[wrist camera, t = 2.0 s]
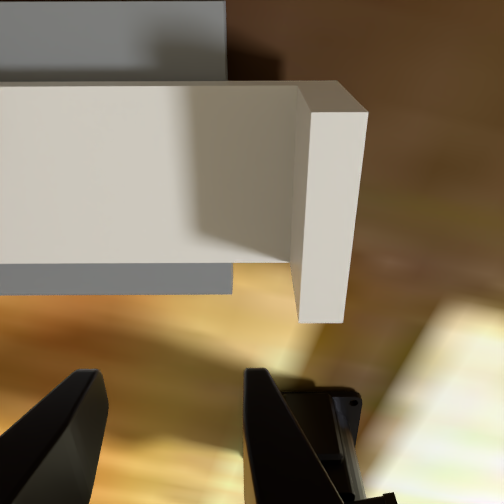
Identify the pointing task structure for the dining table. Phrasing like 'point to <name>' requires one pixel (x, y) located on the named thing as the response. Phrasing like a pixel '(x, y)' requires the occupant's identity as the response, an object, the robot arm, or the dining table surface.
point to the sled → (185, 177)
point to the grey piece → (114, 69)
